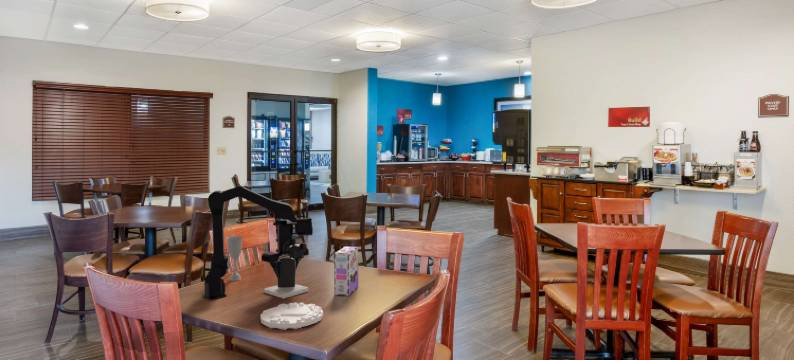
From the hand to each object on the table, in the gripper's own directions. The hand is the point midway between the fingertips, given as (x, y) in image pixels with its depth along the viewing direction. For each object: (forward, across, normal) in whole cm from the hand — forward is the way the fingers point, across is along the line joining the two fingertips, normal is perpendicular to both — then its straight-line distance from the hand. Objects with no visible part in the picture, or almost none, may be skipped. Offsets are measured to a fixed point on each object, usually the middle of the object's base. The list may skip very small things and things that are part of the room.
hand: (285, 276), depth 191 cm
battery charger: (+4, 0, 0) cm, 4 cm away
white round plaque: (+7, -18, -26) cm, 32 cm away
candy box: (+6, +16, -17) cm, 24 cm away
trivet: (+6, 0, 0) cm, 6 cm away
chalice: (+6, -2, +32) cm, 33 cm away
